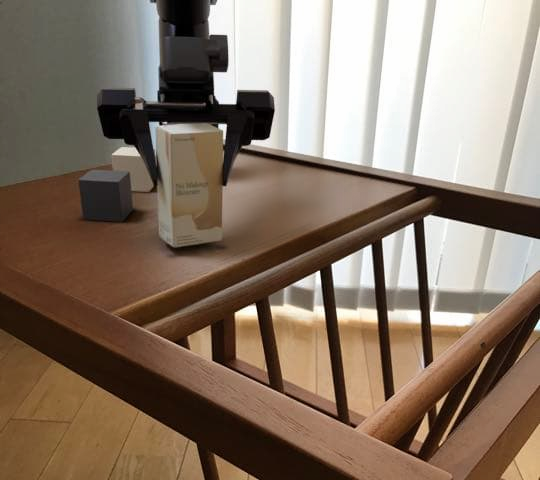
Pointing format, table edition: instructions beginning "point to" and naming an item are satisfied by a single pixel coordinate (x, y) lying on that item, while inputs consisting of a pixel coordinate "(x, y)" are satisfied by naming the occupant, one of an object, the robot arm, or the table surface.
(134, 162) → the ivory block
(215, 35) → the robot arm
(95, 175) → the slate block
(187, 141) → the cosmetic box
